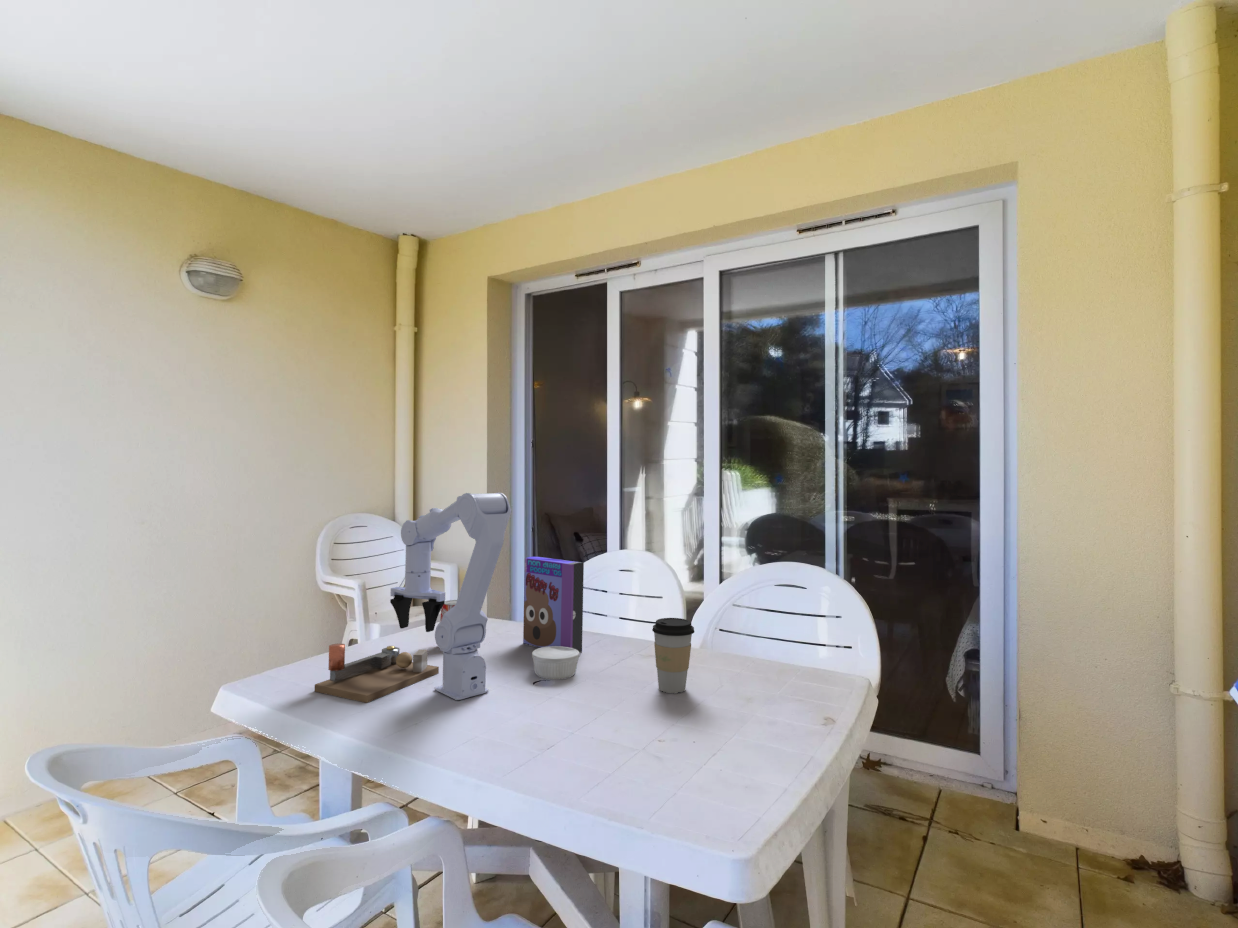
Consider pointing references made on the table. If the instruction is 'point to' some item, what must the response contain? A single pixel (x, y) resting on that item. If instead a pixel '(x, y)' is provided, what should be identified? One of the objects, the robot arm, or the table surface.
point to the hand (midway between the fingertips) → (416, 629)
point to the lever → (357, 661)
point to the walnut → (404, 660)
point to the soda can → (447, 607)
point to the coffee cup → (672, 652)
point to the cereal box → (553, 603)
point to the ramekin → (555, 662)
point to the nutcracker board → (379, 680)
